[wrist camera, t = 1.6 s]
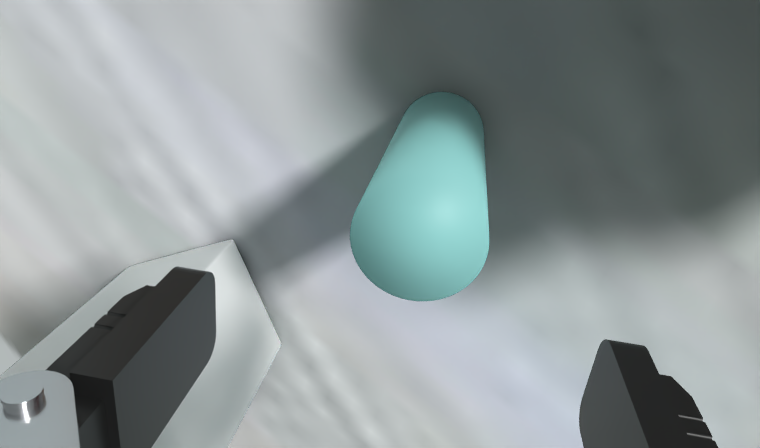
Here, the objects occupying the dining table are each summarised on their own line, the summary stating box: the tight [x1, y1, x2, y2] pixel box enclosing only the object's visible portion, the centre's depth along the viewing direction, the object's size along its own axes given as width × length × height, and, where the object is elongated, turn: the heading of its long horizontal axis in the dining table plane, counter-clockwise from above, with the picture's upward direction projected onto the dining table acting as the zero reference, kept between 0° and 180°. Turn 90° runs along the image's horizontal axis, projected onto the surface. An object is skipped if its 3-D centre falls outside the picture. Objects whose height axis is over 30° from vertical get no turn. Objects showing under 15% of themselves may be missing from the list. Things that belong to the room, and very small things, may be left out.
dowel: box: [350, 92, 489, 301], centre depth 22 cm, size 4×4×12 cm
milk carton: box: [0, 240, 281, 448], centre depth 25 cm, size 7×7×19 cm
